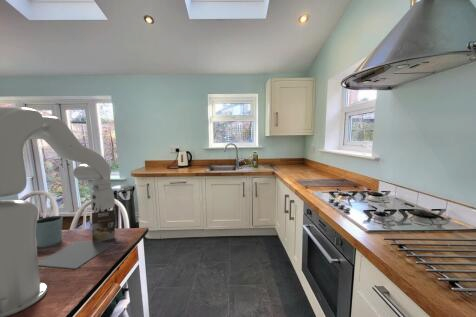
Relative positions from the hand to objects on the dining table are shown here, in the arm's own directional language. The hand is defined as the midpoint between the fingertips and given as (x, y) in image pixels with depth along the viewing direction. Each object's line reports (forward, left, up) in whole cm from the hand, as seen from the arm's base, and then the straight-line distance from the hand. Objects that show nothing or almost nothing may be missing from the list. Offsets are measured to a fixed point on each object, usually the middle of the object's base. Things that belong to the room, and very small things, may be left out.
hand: (104, 221), depth 98 cm
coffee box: (-2, 0, -6) cm, 7 cm away
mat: (-15, 0, -8) cm, 17 cm away
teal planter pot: (-8, +23, -9) cm, 26 cm away
